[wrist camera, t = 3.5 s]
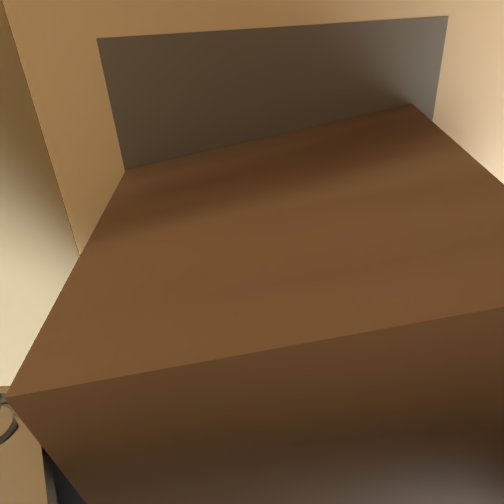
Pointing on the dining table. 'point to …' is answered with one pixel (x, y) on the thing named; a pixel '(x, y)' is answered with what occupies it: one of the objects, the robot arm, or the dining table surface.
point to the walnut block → (284, 327)
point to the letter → (245, 77)
